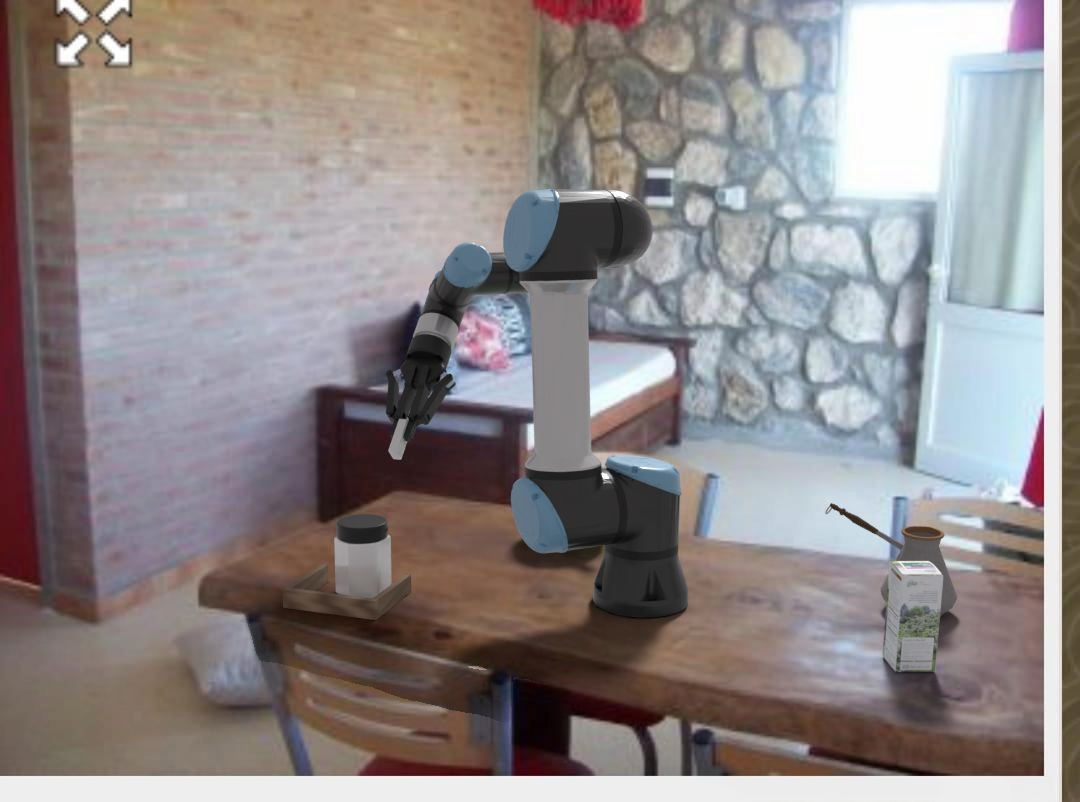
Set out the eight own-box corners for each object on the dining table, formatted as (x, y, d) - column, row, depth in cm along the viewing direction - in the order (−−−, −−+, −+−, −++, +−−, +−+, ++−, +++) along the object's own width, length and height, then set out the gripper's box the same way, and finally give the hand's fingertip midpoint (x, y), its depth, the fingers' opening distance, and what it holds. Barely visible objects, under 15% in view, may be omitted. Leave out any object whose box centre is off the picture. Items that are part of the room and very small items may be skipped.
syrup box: (921, 656, 169) (928, 558, 166) (936, 673, 163) (944, 572, 160) (881, 656, 168) (888, 558, 166) (895, 674, 163) (902, 573, 160)
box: (411, 592, 193) (411, 574, 192) (376, 620, 181) (375, 601, 180) (323, 581, 198) (322, 563, 197) (283, 607, 186) (282, 589, 185)
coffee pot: (964, 607, 188) (972, 516, 185) (943, 629, 178) (950, 534, 176) (835, 580, 200) (839, 494, 197) (808, 600, 190) (813, 510, 187)
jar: (400, 594, 192) (398, 522, 190) (355, 605, 187) (353, 532, 185) (371, 579, 199) (370, 510, 197) (328, 589, 194) (326, 518, 192)
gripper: (471, 358, 215) (436, 469, 202) (405, 355, 219) (367, 464, 206) (460, 333, 209) (423, 446, 196) (392, 330, 213) (352, 440, 200)
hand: (394, 455), depth 201 cm, fingers closed
